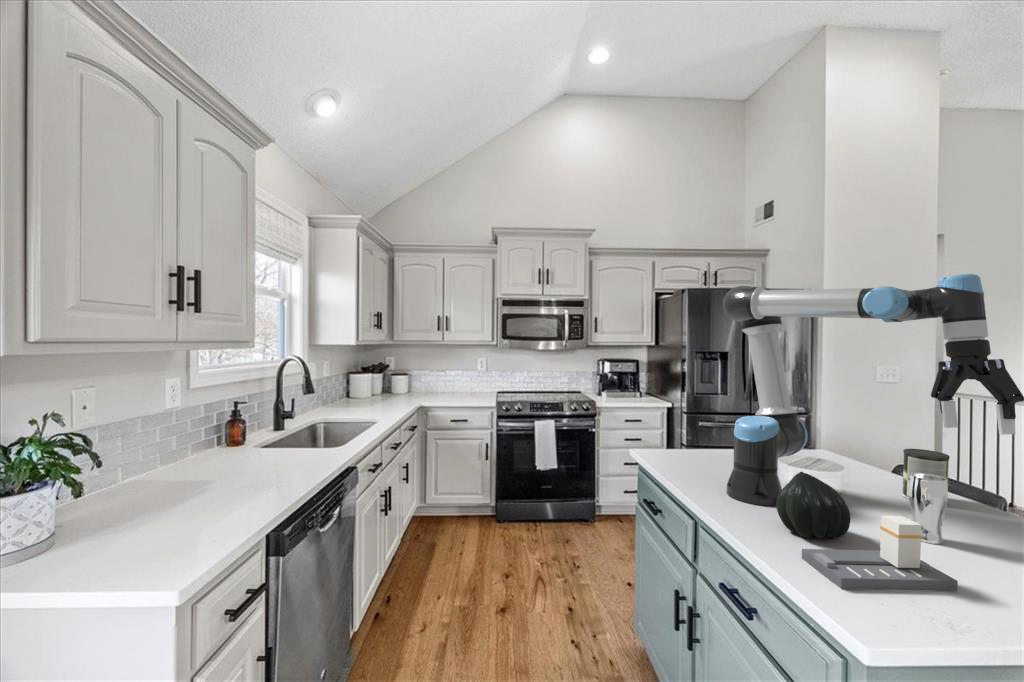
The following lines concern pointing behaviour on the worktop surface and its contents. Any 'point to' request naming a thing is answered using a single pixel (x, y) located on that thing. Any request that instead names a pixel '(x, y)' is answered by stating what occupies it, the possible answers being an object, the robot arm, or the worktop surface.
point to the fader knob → (900, 541)
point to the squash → (812, 508)
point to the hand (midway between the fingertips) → (977, 430)
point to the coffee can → (923, 465)
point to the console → (875, 571)
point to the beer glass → (928, 504)
